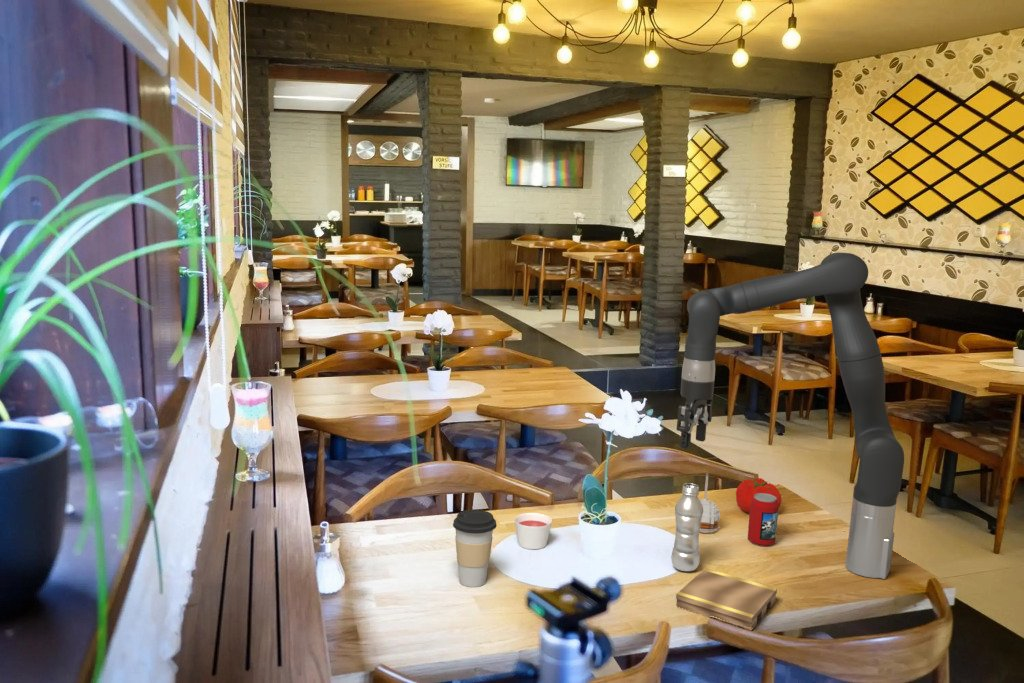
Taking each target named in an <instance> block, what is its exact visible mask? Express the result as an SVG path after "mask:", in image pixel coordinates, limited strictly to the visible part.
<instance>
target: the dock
mask: <svg viewBox="0 0 1024 683" xmlns="http://www.w3.org/2000/svg"><path fill="white" fill-rule="evenodd" d="M777 591H778V589H777V588H776V587H773V586H772V587H771V586H770V585H765V584H762V583H759V582H755V581H752V580H749V579H745V578H741V577H738V576H734V575H731V574H728V573H725V572H721V571H717V570H714V569H710V568H708V567H707V568H706V567H705V568H704V569H703V570H702V571H701V572H699V573H698V574H697V575H696V576H695V577H694V578H693V579H691V580H690V581H689V582H688V583H687V584H686V585H685V586H683V588H681V589H680V590H679V591H677V592H676V594H675V599H676V602H675V603H676V605H675V606H677V607H676V608H679V607H680V608H679V609H682V608H683V609H682V610H685V609H686V610H685V611H688V610H690V611H689V612H691V611H693V612H692V613H694V612H696V613H695V614H697V613H698V615H700V614H702V615H701V616H703V615H705V616H704V617H707V618H710V616H714V617H717V618H720V619H722V620H725V621H728V622H731V623H735V624H738V625H742V626H746V627H751V628H754V629H755V627H756V626H757V625H758V624H757V623H758V619H759V620H762V619H763V618H764V617H765V615H767V609H768V608H769V609H771V608H772V607H773V606H774V605H775V603H776V596H777Z"/></svg>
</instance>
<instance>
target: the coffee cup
mask: <svg viewBox="0 0 1024 683" xmlns="http://www.w3.org/2000/svg"><path fill="white" fill-rule="evenodd" d="M452 526H453V528H454V530H455V550H456V561H457V568H458V579H459V580H458V582H459V584H461V586H464V587H468V588H480V587H482V586H484V585H485V584H486V582H487V575H488V569H489V568H488V567H489V563H490V561H491V560H490V559H491V553H492V544H493V532H494V530H495V529H496V528H497V526H498V524H497V521H496V519H495V518H494V515H493V514H492V513H491V512H489V511H487V510H483V509H466V510H465V509H464V510H463V511H460V512H458V513H457V515H456V517H455V518H454V519H453V523H452Z"/></svg>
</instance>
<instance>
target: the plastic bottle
mask: <svg viewBox="0 0 1024 683" xmlns="http://www.w3.org/2000/svg"><path fill="white" fill-rule="evenodd" d="M699 490H700V487H699V485H698V484H695V483H689V482H688V483H684V484H682V490H681V494H682V495H681V497H680V498H678V500H677V501H676V503H675V506H674V511H675V512H674V513H675V514H674V515H675V537H674V544H673V547H672V552H671V556H670V557H671V563H672V565H673V567H674V568H675V569H676V570H678V571H682V572H693V571H696V570H697V568H698V567H699V564H700V561H701V558H700V557H701V555H700V545H699V544H700V541H699V540H700V538H699V536H700V532H699V530H700V524H701V519H702V514H703V506H702V504H701V502H700V498H699V497H698V496H699V494H700V492H699Z"/></svg>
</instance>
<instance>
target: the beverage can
mask: <svg viewBox="0 0 1024 683" xmlns="http://www.w3.org/2000/svg"><path fill="white" fill-rule="evenodd" d="M779 508H780V507H779V504H778V502H777V500H776V497H775V496H773V495H770V494H765V493H758V494H755V495H754V497H753V499H752V500H751V504H750V513H749V514H748V515H749V517H748V529H747V540H749V541H750V542H751V543H752V544H754V545H756V546H760V547H770V546H771V545H773V544H775V542H776V539H777V538H776V537H777V528H778V518H779Z"/></svg>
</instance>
